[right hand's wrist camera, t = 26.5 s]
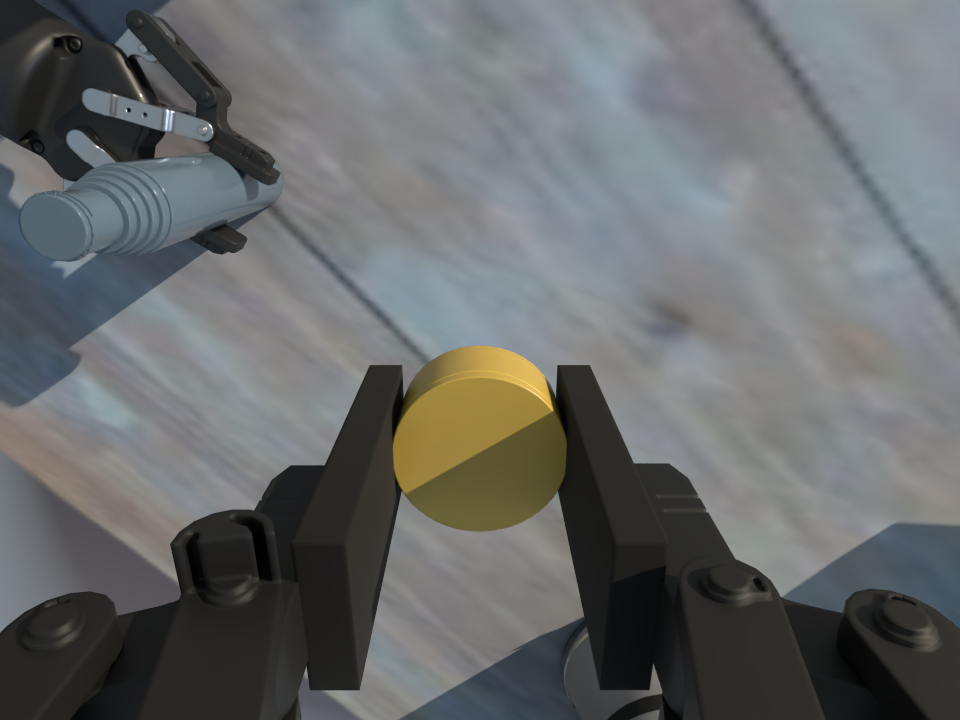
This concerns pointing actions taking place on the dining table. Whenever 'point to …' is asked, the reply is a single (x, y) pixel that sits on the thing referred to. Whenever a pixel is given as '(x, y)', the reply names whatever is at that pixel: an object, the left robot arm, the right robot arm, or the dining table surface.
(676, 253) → the dining table surface
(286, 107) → the dining table surface
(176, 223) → the bottle
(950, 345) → the dining table surface
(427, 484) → the cap
